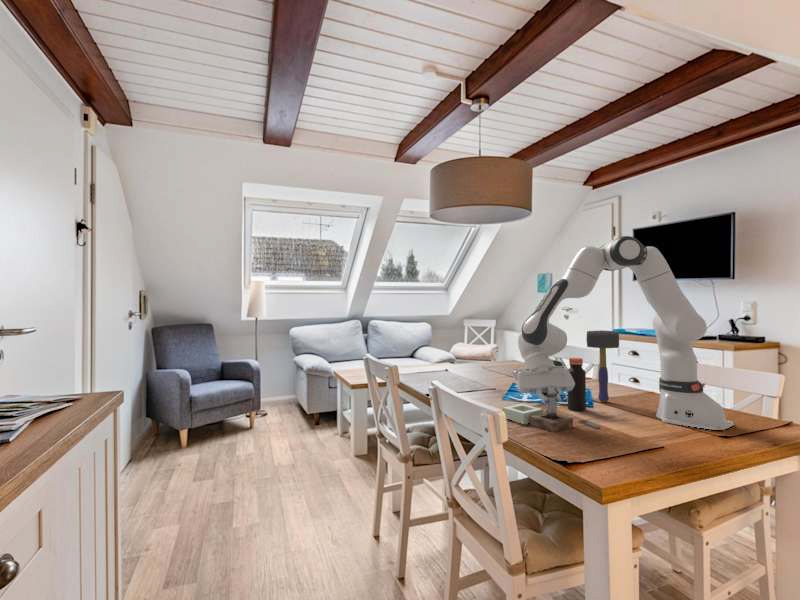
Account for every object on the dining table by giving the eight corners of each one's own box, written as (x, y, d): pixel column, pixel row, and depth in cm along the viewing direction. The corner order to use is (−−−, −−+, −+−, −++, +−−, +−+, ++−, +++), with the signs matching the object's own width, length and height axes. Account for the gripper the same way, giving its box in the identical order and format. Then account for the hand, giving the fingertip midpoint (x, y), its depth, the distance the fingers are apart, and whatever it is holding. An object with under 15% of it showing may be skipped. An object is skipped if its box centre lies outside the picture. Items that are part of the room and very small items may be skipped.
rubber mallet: (587, 402, 179) (586, 330, 179) (587, 398, 186) (586, 329, 186) (620, 405, 174) (619, 331, 174) (619, 400, 181) (618, 329, 181)
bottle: (582, 406, 172) (581, 357, 172) (588, 411, 165) (587, 359, 165) (565, 406, 173) (564, 357, 173) (570, 411, 166) (569, 359, 166)
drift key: (600, 429, 144) (599, 426, 144) (594, 430, 143) (594, 426, 143) (584, 423, 152) (584, 419, 152) (579, 423, 151) (579, 420, 151)
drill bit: (559, 424, 147) (558, 386, 147) (552, 425, 145) (551, 387, 145) (551, 421, 150) (550, 384, 150) (544, 423, 148) (543, 386, 148)
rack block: (543, 420, 155) (543, 409, 155) (523, 424, 149) (523, 413, 149) (522, 414, 163) (521, 403, 163) (503, 418, 158) (502, 407, 158)
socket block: (573, 426, 146) (572, 418, 146) (553, 432, 141) (553, 422, 141) (549, 420, 155) (549, 411, 155) (529, 424, 150) (529, 416, 150)
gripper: (514, 364, 154) (525, 398, 144) (568, 362, 156) (583, 394, 146) (509, 374, 158) (520, 407, 148) (562, 372, 160) (576, 404, 150)
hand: (552, 401), depth 147 cm, fingers closed on drill bit, 3 cm apart
